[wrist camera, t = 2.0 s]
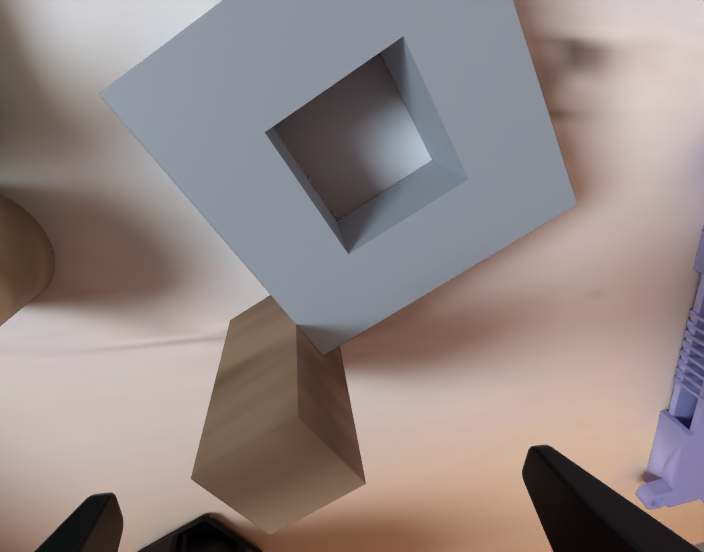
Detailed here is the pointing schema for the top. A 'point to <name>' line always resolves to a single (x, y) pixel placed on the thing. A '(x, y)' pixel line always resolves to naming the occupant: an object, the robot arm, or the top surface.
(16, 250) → the round dowel
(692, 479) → the computer part
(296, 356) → the square peg
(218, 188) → the socket block
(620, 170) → the top surface
